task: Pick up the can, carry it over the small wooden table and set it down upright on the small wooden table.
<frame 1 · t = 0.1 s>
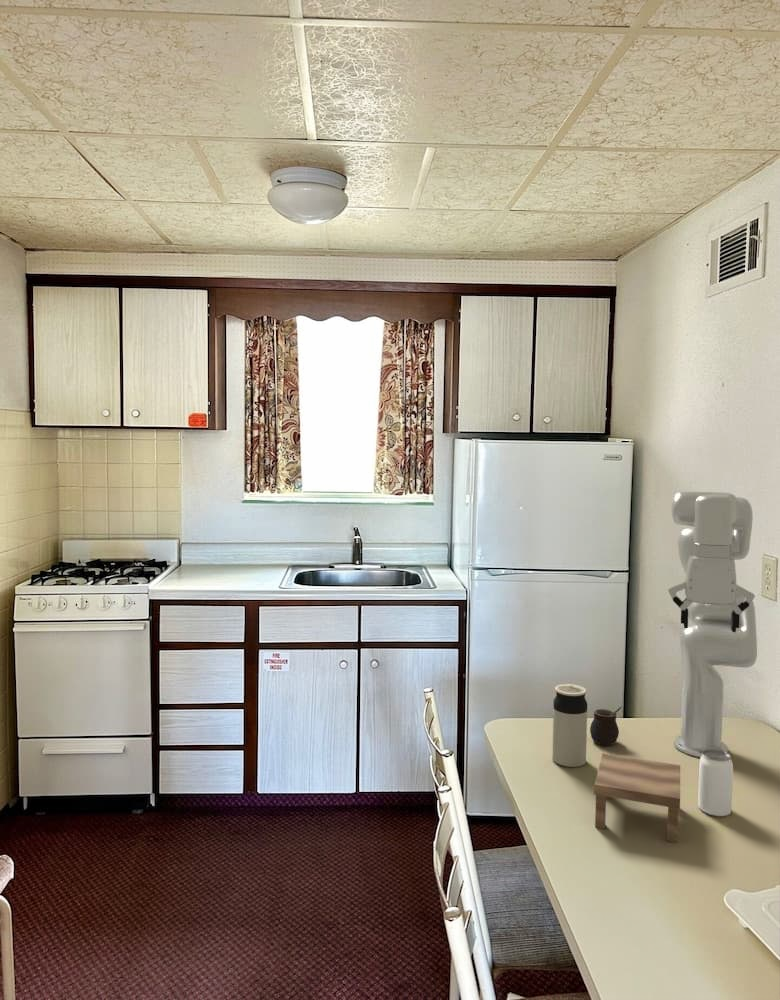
hand: (709, 628, 162), 37 cm above the table, tool pointing down, fingers open, 9 cm apart
mate gourd: (604, 743, 191), on the table
can: (714, 810, 156), on the table
travel mug: (569, 761, 180), on the table
small wooden table: (637, 816, 153), on the table
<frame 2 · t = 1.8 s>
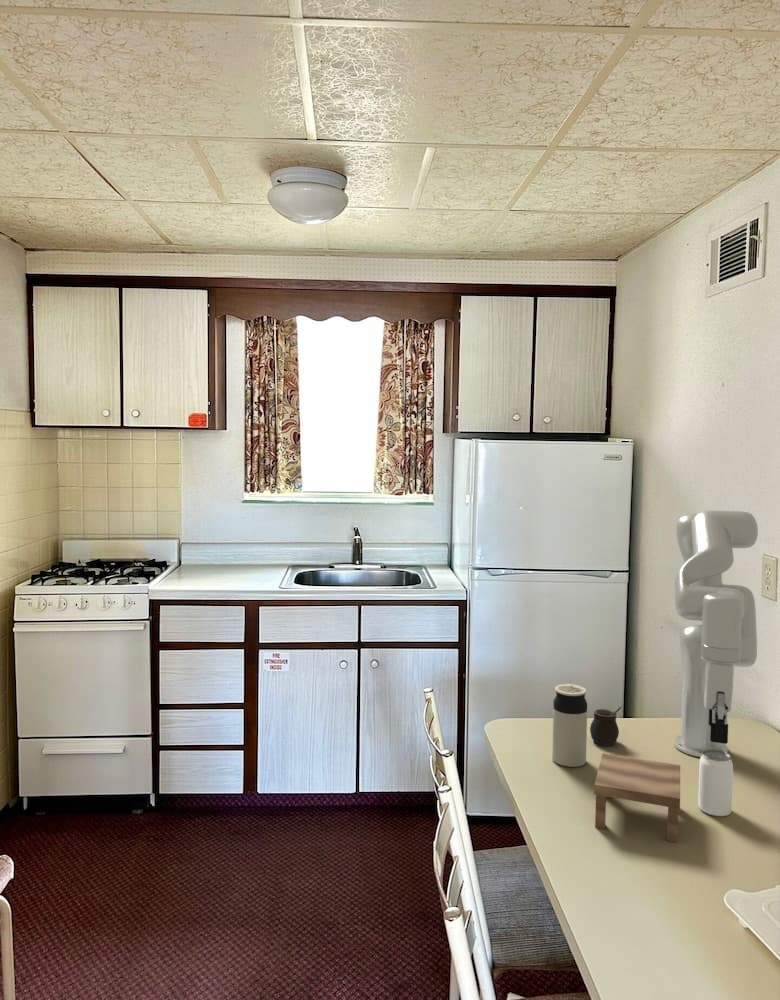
hand: (717, 734, 154), 17 cm above the table, tool pointing down, fingers open, 9 cm apart
nothing on the table moved.
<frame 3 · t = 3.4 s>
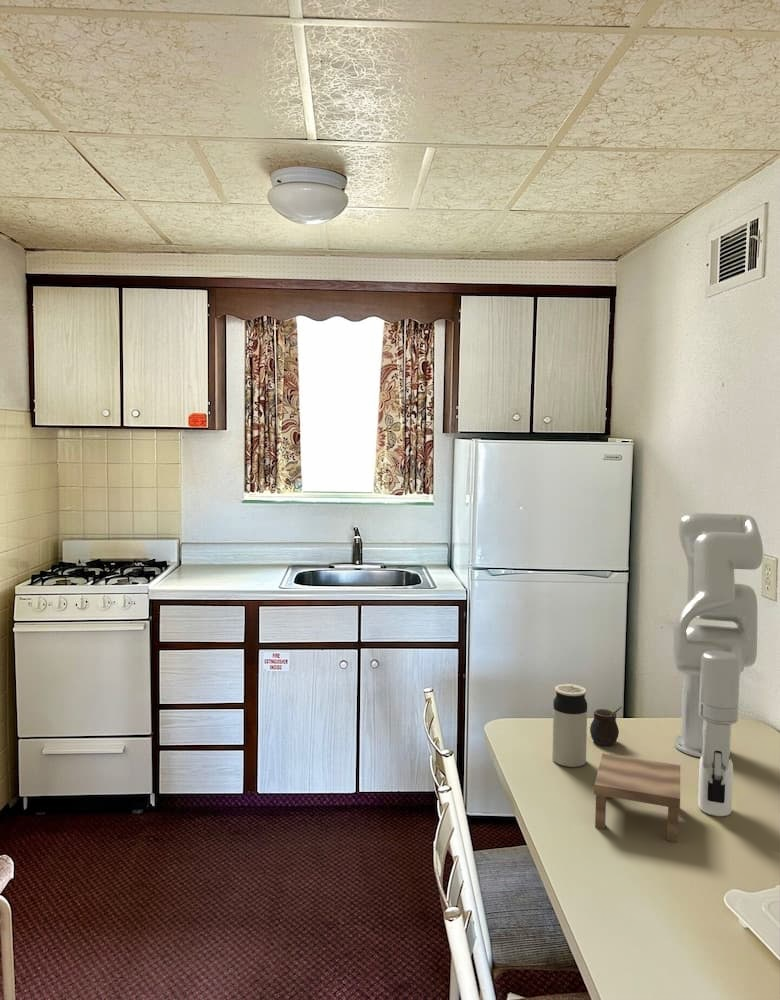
hand: (715, 793, 155), 4 cm above the table, tool pointing down, fingers closed on can, 6 cm apart
can: (714, 810, 156), on the table, touching gripper
everything else where it was.
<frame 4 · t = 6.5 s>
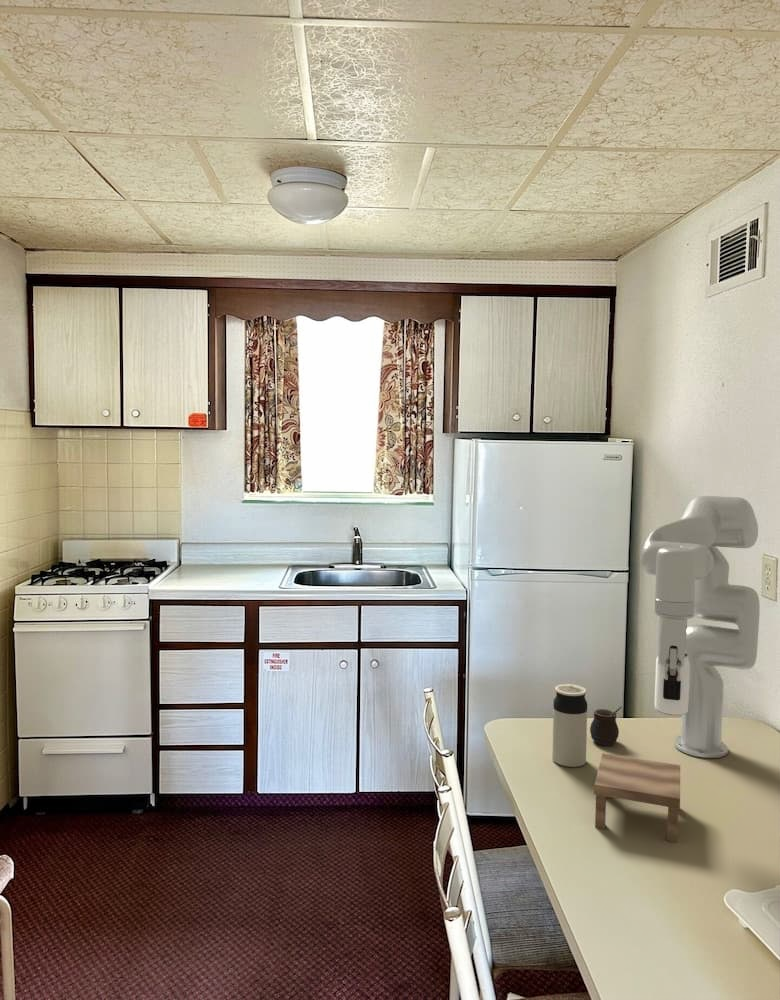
hand: (671, 692, 152), 26 cm above the table, tool pointing down, fingers closed on can, 6 cm apart
can: (670, 711, 152), point 22 cm above the table, touching gripper
everything else where it was.
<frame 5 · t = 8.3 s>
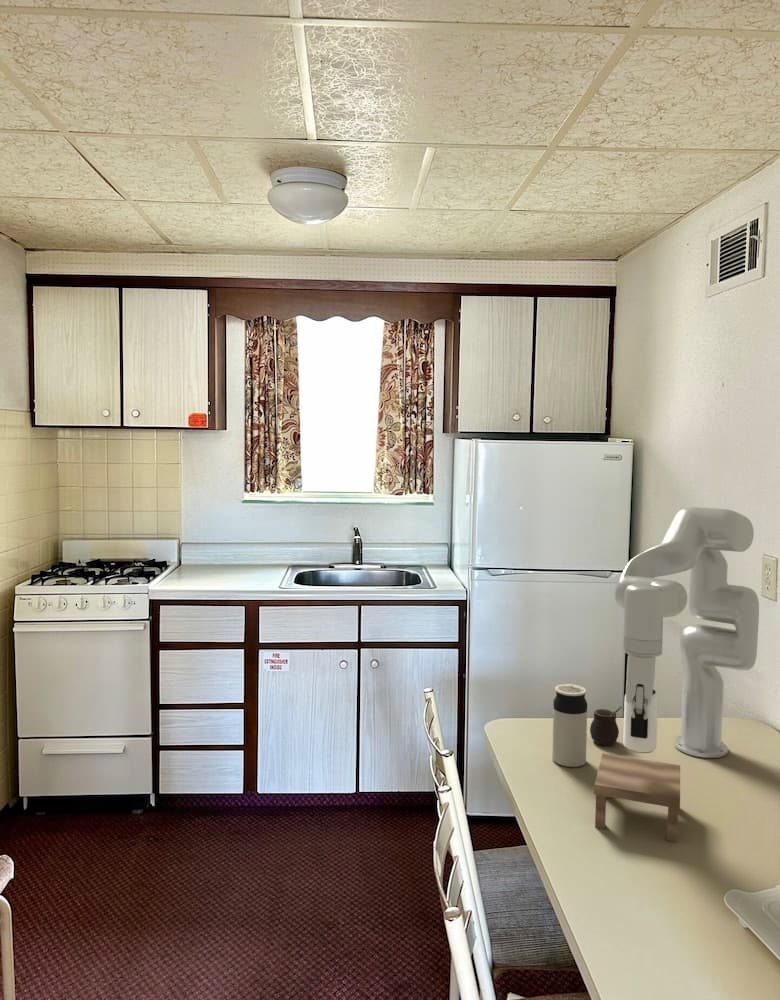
hand: (639, 729, 151), 18 cm above the table, tool pointing down, fingers closed on can, 6 cm apart
can: (639, 748, 152), point 15 cm above the table, touching gripper
everything else where it was.
when the fingers open (14 cm above the table, at t = 9.6 s): can drops 1 cm, resting on small wooden table.
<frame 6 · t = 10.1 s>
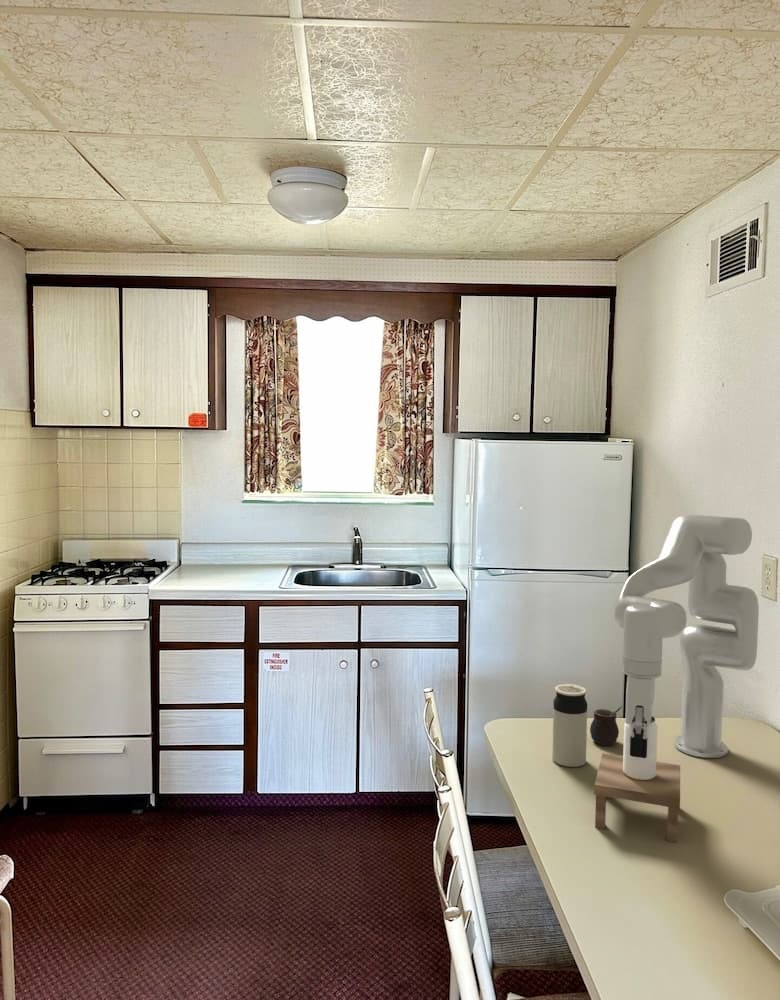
hand: (639, 747, 152), 15 cm above the table, tool pointing down, fingers open, 9 cm apart
can: (639, 775, 152), point 9 cm above the table, touching small wooden table
everything else where it was.
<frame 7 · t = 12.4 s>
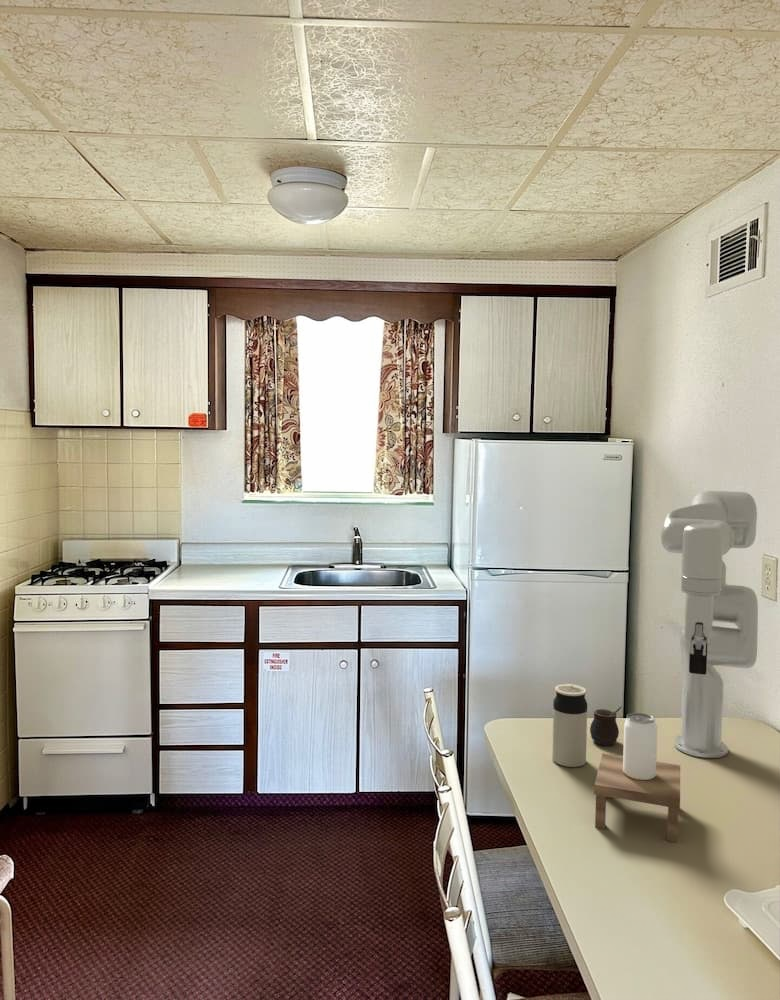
hand: (698, 666, 152), 31 cm above the table, tool pointing down, fingers open, 9 cm apart
nothing on the table moved.
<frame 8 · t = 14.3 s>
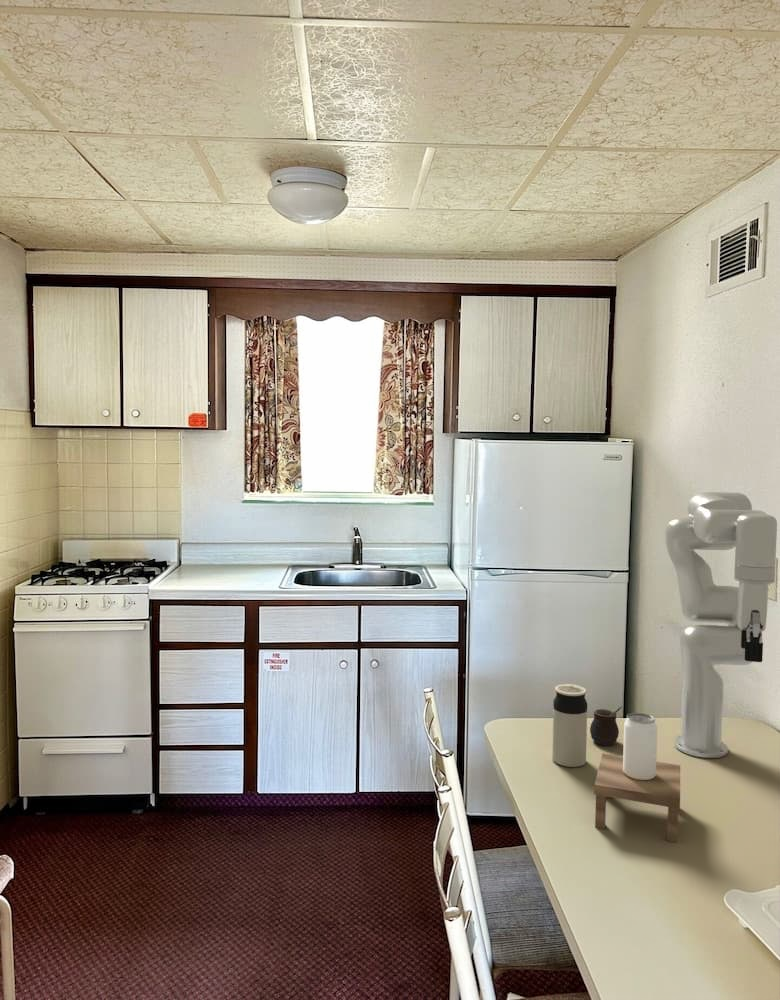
hand: (751, 654, 154), 33 cm above the table, tool pointing down, fingers open, 9 cm apart
nothing on the table moved.
at the end: can inside the target area on the small wooden table (0.2 cm from its centre), point 8.8 cm above the small wooden table's base; can tilted 0°; the gripper is holding nothing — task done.
